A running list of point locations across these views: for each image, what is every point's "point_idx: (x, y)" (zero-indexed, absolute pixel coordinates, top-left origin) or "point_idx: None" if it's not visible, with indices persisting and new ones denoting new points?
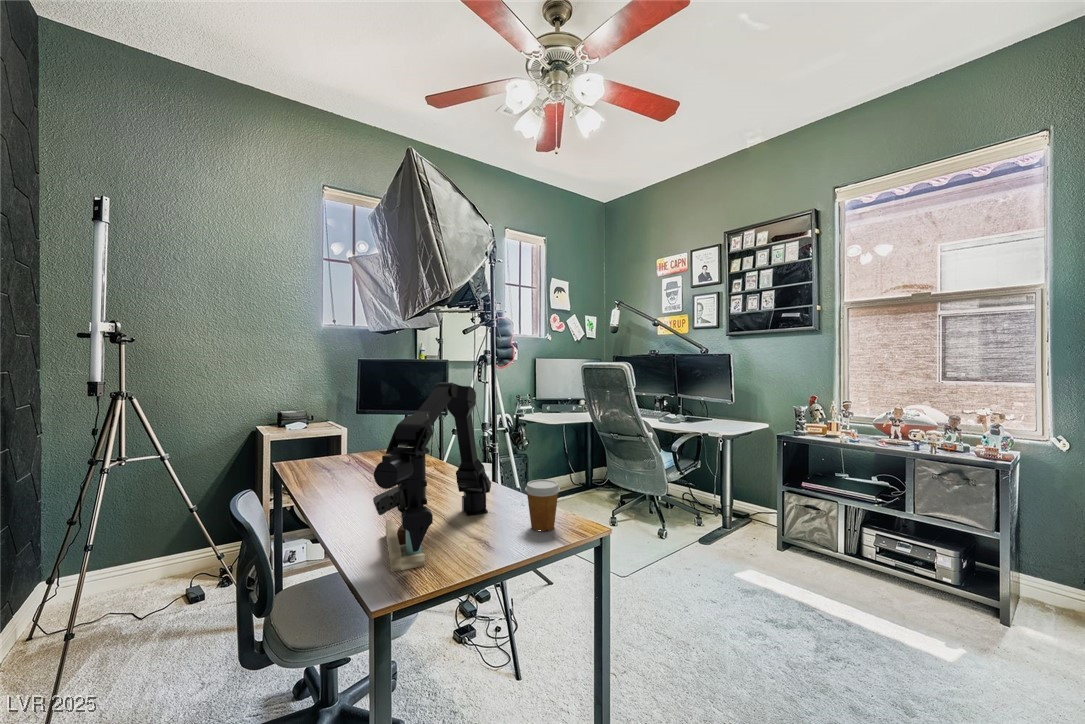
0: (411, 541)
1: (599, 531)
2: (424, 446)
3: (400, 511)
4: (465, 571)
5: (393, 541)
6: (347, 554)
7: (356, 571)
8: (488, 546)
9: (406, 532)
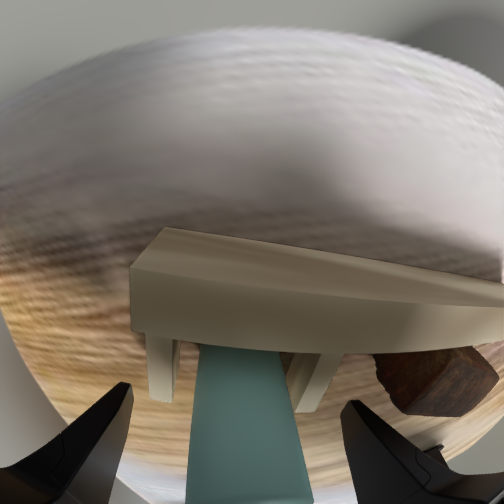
0: (72, 424)
1: None
2: None
3: (462, 501)
4: None
5: (359, 324)
6: (470, 107)
7: (284, 62)
8: None
9: (232, 461)
